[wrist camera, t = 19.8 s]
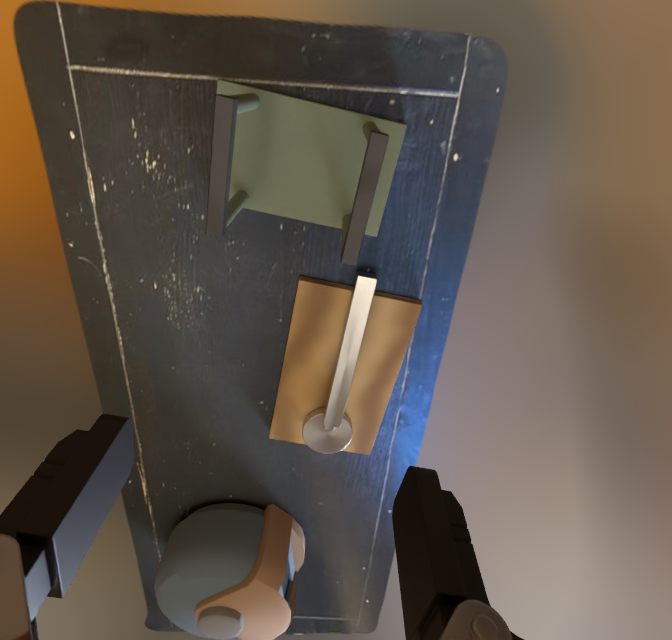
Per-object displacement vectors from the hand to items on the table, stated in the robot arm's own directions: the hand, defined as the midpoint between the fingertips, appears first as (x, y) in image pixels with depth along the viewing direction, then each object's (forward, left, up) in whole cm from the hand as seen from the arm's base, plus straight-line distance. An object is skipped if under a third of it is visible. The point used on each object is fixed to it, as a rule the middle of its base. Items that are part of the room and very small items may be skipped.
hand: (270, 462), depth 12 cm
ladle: (-6, +18, -31) cm, 37 cm away
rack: (+2, -3, -32) cm, 32 cm away
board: (-6, +19, -32) cm, 38 cm away
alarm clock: (+2, +53, -32) cm, 62 cm away
